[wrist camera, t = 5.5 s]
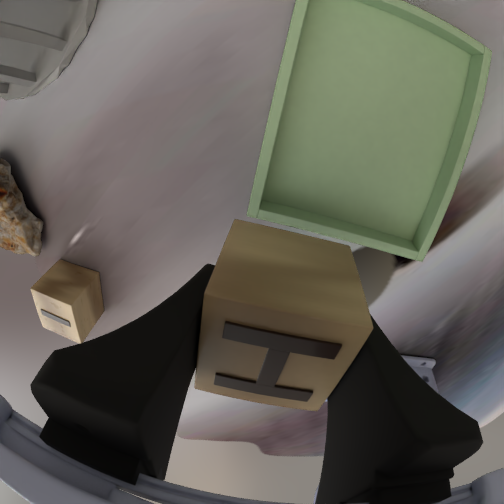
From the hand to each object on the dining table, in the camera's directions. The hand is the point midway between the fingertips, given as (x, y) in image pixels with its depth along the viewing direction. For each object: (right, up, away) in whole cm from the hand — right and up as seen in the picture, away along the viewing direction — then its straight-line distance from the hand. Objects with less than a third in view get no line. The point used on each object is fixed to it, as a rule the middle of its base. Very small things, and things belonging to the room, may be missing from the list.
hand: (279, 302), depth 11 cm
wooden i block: (-16, -1, +13) cm, 21 cm away
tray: (+6, +9, +4) cm, 12 cm away
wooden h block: (0, +1, +1) cm, 1 cm away
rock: (-23, +7, +9) cm, 25 cm away
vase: (-17, +20, +1) cm, 26 cm away
